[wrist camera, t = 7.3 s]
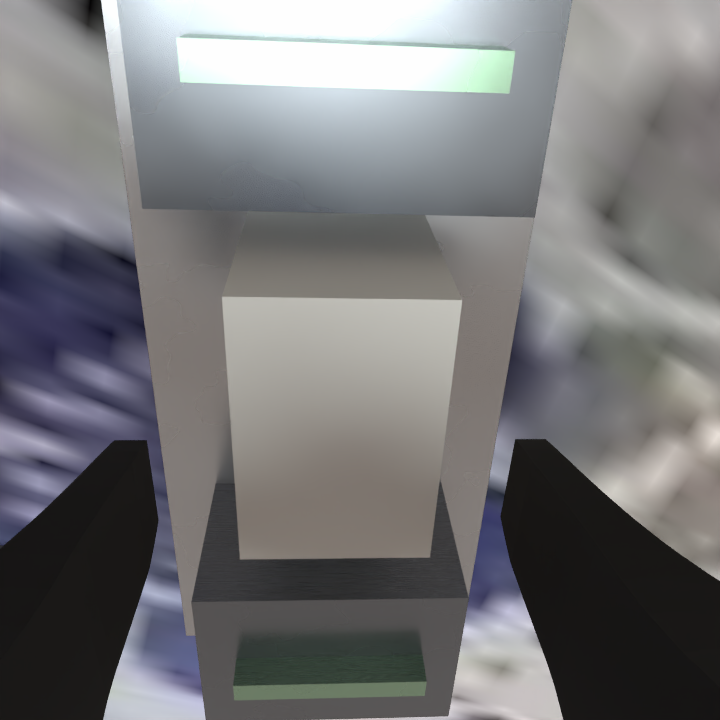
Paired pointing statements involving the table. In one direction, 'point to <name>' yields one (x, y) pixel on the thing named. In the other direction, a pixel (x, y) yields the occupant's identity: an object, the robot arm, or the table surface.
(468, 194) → the rail station
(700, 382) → the table surface
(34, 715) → the robot arm
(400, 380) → the block
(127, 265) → the table surface
